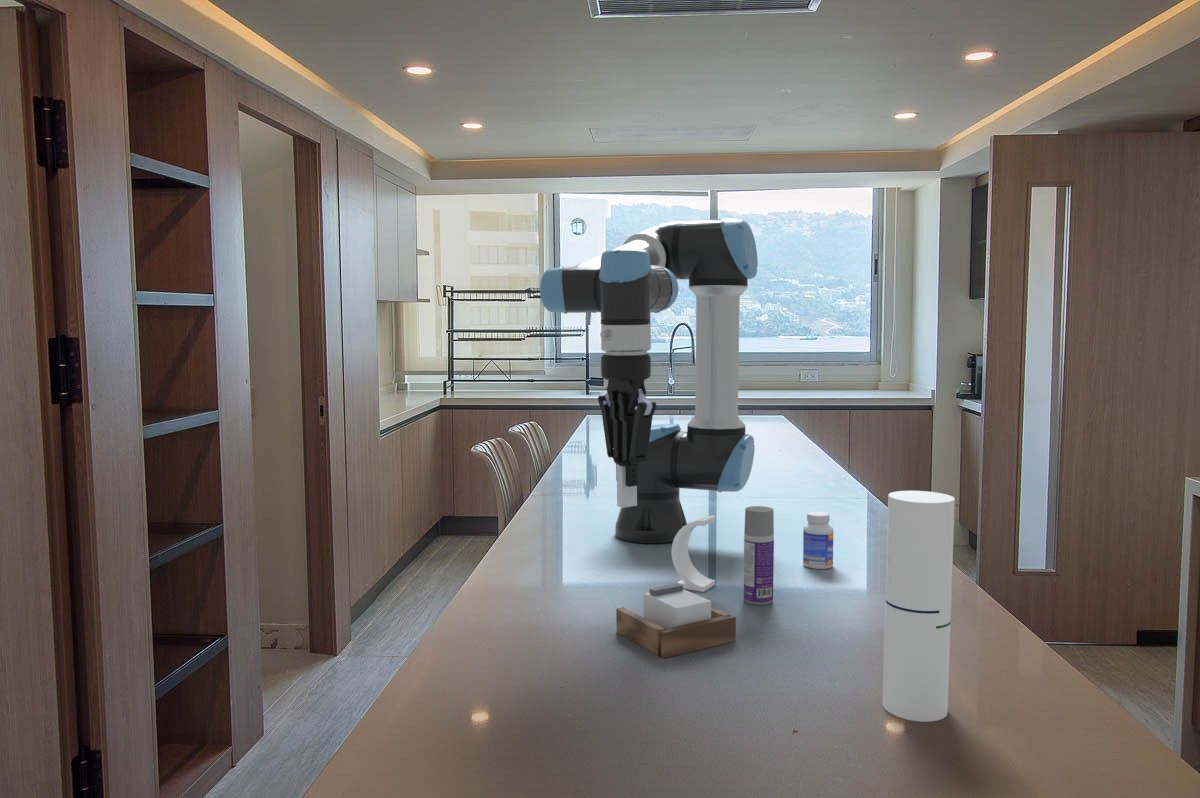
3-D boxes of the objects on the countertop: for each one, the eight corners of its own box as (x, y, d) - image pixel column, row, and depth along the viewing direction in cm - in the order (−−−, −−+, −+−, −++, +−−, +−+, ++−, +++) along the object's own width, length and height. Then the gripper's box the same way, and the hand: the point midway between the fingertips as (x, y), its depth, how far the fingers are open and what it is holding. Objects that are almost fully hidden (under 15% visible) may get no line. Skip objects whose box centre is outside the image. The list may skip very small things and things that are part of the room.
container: (775, 597, 146) (776, 507, 144) (770, 606, 141) (772, 513, 140) (746, 595, 147) (747, 505, 146) (741, 603, 143) (742, 510, 142)
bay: (616, 632, 130) (616, 608, 130) (685, 617, 136) (685, 594, 136) (663, 658, 120) (663, 632, 120) (735, 641, 126) (735, 616, 126)
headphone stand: (703, 592, 149) (704, 521, 148) (671, 586, 152) (671, 516, 151) (715, 585, 153) (715, 515, 152) (683, 579, 156) (683, 511, 155)
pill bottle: (833, 570, 161) (834, 517, 161) (802, 568, 163) (803, 516, 162) (832, 562, 167) (833, 511, 166) (802, 561, 168) (803, 509, 167)
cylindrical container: (873, 696, 108) (878, 491, 106) (930, 694, 108) (937, 490, 106) (897, 722, 101) (904, 503, 98) (959, 720, 101) (966, 502, 99)
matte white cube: (643, 633, 130) (643, 587, 129) (676, 626, 133) (677, 581, 132) (676, 650, 123) (676, 602, 122) (710, 642, 126) (711, 595, 126)
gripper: (582, 352, 139) (584, 501, 142) (628, 356, 128) (629, 517, 131) (623, 350, 143) (624, 495, 146) (671, 353, 132) (671, 510, 135)
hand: (627, 505), depth 138 cm, fingers closed
